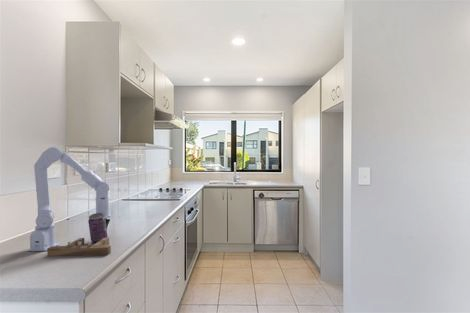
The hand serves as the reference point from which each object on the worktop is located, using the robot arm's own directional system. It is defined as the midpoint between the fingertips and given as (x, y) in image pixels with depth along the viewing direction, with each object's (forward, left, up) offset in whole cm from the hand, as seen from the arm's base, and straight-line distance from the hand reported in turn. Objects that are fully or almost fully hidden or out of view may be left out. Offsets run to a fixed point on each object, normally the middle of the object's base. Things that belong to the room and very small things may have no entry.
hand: (103, 234), depth 140 cm
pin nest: (-16, 0, -2) cm, 16 cm away
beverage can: (-4, 0, -1) cm, 4 cm away
